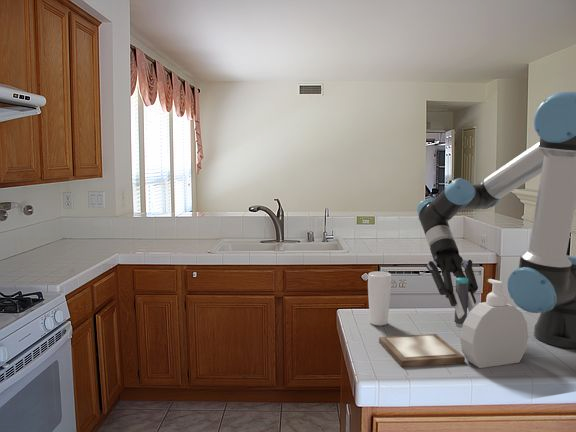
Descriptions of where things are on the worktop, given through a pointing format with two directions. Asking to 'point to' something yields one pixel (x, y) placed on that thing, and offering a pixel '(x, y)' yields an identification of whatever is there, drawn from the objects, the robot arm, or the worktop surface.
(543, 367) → the worktop surface
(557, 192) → the robot arm
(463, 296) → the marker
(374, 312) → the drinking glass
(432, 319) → the worktop surface
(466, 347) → the soap bottle
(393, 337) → the writing board
